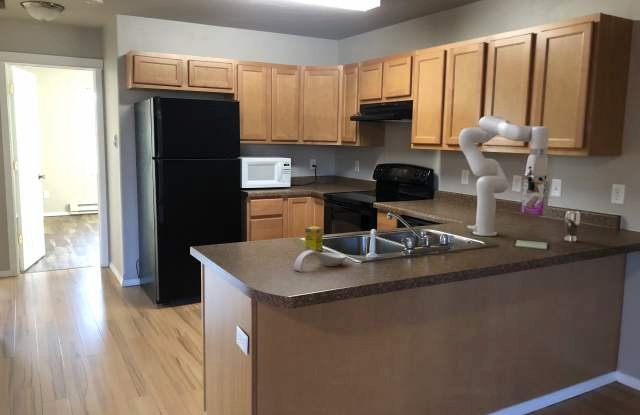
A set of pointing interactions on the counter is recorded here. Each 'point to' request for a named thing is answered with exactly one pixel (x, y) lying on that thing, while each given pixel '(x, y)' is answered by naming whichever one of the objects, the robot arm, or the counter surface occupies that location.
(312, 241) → the supplement box
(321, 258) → the spoon rest
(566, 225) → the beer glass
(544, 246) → the mat
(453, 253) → the counter surface
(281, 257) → the counter surface
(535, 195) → the candy bar box
